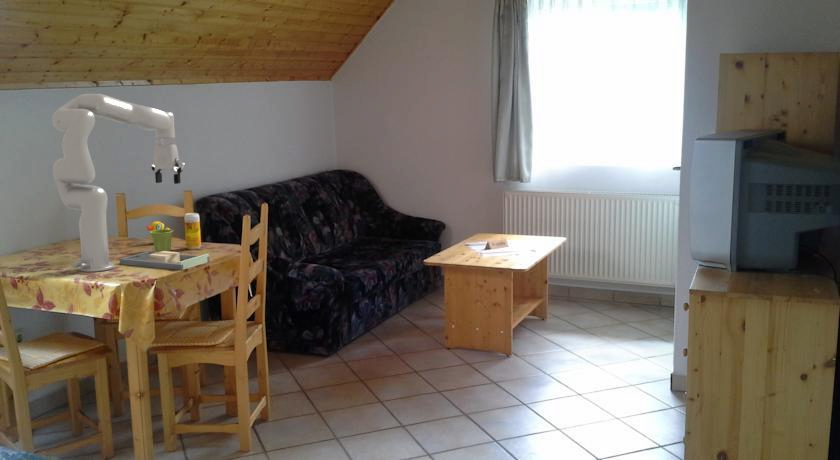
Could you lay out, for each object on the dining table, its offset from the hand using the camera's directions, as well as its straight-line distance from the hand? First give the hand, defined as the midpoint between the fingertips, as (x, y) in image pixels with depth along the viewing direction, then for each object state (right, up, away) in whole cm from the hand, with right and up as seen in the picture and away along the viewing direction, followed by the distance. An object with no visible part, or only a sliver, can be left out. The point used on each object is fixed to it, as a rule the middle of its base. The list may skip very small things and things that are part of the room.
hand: (168, 183), depth 321 cm
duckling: (-10, -26, +20) cm, 34 cm away
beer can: (+8, -28, +8) cm, 30 cm away
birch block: (+6, -33, -21) cm, 39 cm away
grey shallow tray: (+6, -33, -21) cm, 39 cm away
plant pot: (-3, -29, +2) cm, 29 cm away
